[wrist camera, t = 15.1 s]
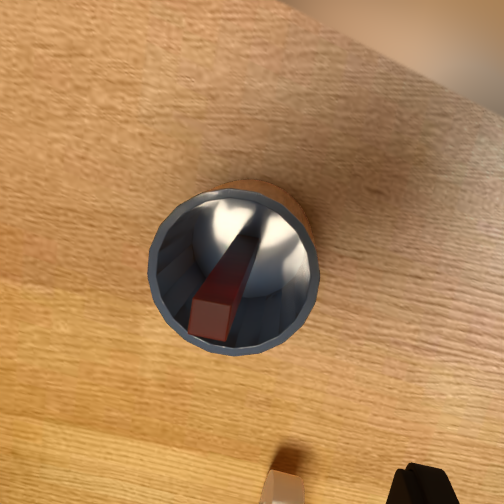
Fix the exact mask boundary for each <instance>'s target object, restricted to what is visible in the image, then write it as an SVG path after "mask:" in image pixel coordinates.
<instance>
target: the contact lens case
mask: <svg viewBox="0 0 504 504" xmlns="http://www.w3.org/2000/svg"><path fill="white" fill-rule="evenodd" d="M259 504H305V498H304V484H303V480H302V478H301V477H299V476H296V475H292V474H288V473H284V472H280V471H276V470H272V469H271V470H270V471H269V473H268V476H267V478H266V481H265V484H264V487H263V491H262V495H261V499H260V502H259Z"/></svg>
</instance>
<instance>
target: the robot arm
mask: <svg viewBox="0 0 504 504" xmlns="http://www.w3.org/2000/svg"><path fill="white" fill-rule="evenodd" d="M386 504H460V503H459V501H458V499H457V497H456V494H455V492H454V490H453V488H452V486H451V483H450V481H449V479H448V477H447V475H446V473H445V472H444V471H443V470H442V469H439V468H434V467H430V466H425V465H421V464H416V463H409V464H408V465H407V467H406V469H405V470H404V469H397V471H396V473H395V475H394V479H393V482H392V485H391V489H390V492H389V495H388V499H387V502H386Z"/></svg>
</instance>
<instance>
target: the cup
mask: <svg viewBox="0 0 504 504" xmlns="http://www.w3.org/2000/svg"><path fill="white" fill-rule="evenodd" d="M237 234H241V235H246V236H251V237H257V238H259V243H258V249H257V254H256V259H255V262H254V265H253V267H252V270H251V273H250V276H249V279H248V281H247V284H246V287H245V290H244V293H243V295H242V298H241V301H240V304H239V307H238V309H237V312H236V315H235V318H234V321H233V323H232V326H231V329H230V332H229V334H228V337H227V340H226V341H225V342H224V341H219V340H214V339H209V338H204V337H199V336H194V335H189V334H188V325H189V318H190V312H191V305H192V299H193V297H194V296H195V294H196V293H197V291H198V290H199V288H200V287H201V286H202V284H203V283H204V281H205V280H206V278H207V277H208V276H209V274H210V273H211V271H212V270H213V268H214V267H215V266H216V264H217V263H218V261H219V260H220V258H221V257H222V256H223V254H224V253H225V251H226V250H227V248H228V247H229V246H230V244H231V243H232V241H233V240H234V238H235V237H236V236H237ZM147 275H148V276H147V277H148V281H149V285H150V289H151V293H152V298H153V300H154V303H155V305H156V306H157V308H158V310H159V311H160V313H161V315H162V316H163V318H164V320H165V321H166V323H167V324H168V325H169V326H170V327H171V328H172V329H174V330H175V331H176V332H177V333H178V334H179V335H180V336H181V337H182V338H183V339H184V340H186V341H187V342H189V343H192V344H194V345H196V346H198V347H200V348H202V349H204V350H206V351H208V352H211V353H217V354H223V355H229V356H242V355H250V354H258V353H262V352H264V351H266V350H269V349H271V348H273V347H275V346H277V345H280V344H282V343H283V342H285V341H286V340H287V339H288V338H289V337H291V336H292V335H293V334H294V333H295V332H296V331H297V330H298V329H299V328H300V327H302V325H303V324H304V323H305V321H306V319H307V317H308V315H309V314H310V312H311V310H312V308H313V306H314V305H315V302H316V298H317V293H318V287H319V282H320V270H319V263H318V257H317V250H316V246H315V242H314V238H313V234H312V230H311V226H310V223H309V221H308V219H307V217H306V215H305V213H304V211H303V209H302V207H301V206H300V204H299V203H298V202H297V201H296V200H295V199H294V198H293V197H292V196H291V195H290V194H289V193H287V192H286V191H285V190H283V189H282V188H280V187H278V186H276V185H274V184H272V183H269V182H265V181H261V180H255V179H243V180H236V181H232V182H227V183H224V184H222V185H219V186H217V187H214V188H212V189H210V190H207V191H205V192H202V193H200V194H198V195H196V196H195V197H193V198H191V199H189V200H187V201H186V202H184V203H182V204H180V205H179V206H177V207H176V208H175V209H174V210H173V211H172V213H171V214H170V215H169V216H168V217H167V218H166V219H165V220H164V221H163V222H162V224H161V225H160V226H159V228H158V231H157V233H156V235H155V238H154V240H153V242H152V245H151V247H150V250H149V260H148V272H147Z"/></svg>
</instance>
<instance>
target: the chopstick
mask: <svg viewBox="0 0 504 504" xmlns="http://www.w3.org/2000/svg"><path fill="white" fill-rule="evenodd" d="M258 243H259V238H257V237H251V236H246V235H241V234H237V236H236V237H235V238H234V240H233V241H232V243H231V244H230V246H229V247H228V248H227V250H226V251H225V253H224V254H223V256H222V257H221V258H220V260H219V261H218V263H217V264H216V266H215V267H214V268H213V270H212V271H211V273H210V274H209V276H208V277H207V278H206V280H205V281H204V283H203V284H202V286H201V287H200V288H199V290H198V291H197V293H196V294H195V296H194V297H193V299H192V305H191V312H190V318H189V325H188V334H189V335H194V336H199V337H204V338H209V339H214V340H219V341H224V342H225V341H226V340H227V337H228V334H229V332H230V329H231V326H232V323H233V321H234V318H235V315H236V312H237V309H238V307H239V304H240V301H241V298H242V295H243V293H244V290H245V287H246V284H247V281H248V279H249V276H250V273H251V270H252V267H253V265H254V262H255V259H256V254H257V249H258Z"/></svg>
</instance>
